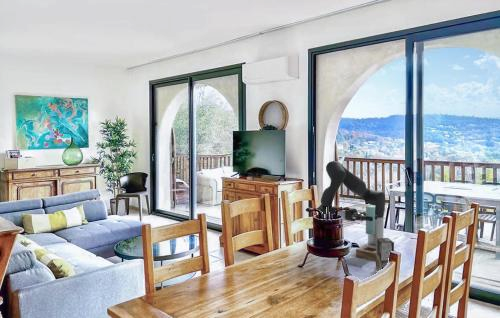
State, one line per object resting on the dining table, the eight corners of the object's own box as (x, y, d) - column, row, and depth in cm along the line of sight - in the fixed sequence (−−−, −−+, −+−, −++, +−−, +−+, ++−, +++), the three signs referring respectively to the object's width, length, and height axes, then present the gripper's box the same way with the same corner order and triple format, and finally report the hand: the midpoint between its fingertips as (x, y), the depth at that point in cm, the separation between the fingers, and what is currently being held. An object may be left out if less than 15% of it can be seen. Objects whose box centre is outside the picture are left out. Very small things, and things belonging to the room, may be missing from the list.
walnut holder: (364, 250, 234) (364, 243, 234) (390, 256, 223) (390, 249, 223) (350, 256, 223) (350, 249, 223) (376, 263, 212) (377, 255, 212)
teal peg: (368, 231, 226) (368, 205, 225) (376, 233, 222) (376, 206, 221) (364, 233, 222) (364, 206, 221) (372, 234, 219) (372, 207, 218)
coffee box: (394, 275, 194) (394, 242, 193) (380, 275, 194) (381, 242, 193) (387, 268, 203) (388, 237, 202) (375, 268, 203) (375, 237, 202)
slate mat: (352, 258, 220) (352, 257, 220) (371, 262, 213) (371, 261, 212) (342, 262, 212) (342, 261, 212) (361, 267, 205) (361, 266, 205)
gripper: (353, 218, 237) (380, 222, 225) (340, 222, 227) (368, 227, 215) (353, 205, 236) (380, 209, 225) (341, 209, 226) (368, 213, 214)
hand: (374, 218), depth 220 cm, fingers closed on teal peg, 4 cm apart
